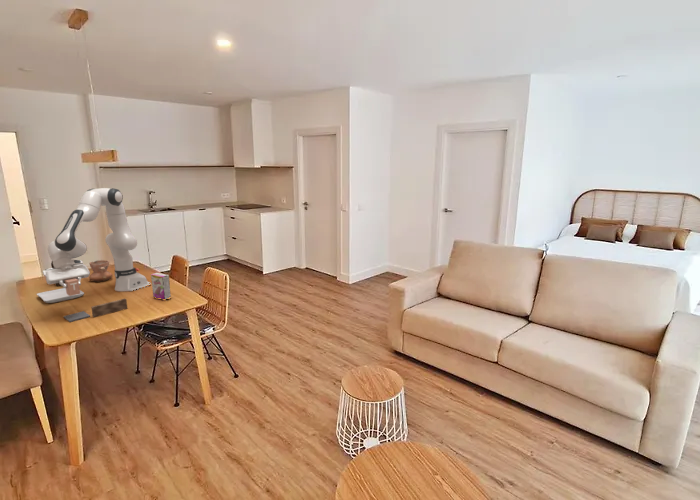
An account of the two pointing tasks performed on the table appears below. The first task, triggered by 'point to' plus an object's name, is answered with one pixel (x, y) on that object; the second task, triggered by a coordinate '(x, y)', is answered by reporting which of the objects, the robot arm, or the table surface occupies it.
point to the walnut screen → (109, 307)
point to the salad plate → (57, 295)
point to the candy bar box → (160, 285)
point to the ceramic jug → (100, 271)
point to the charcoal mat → (76, 316)
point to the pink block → (72, 287)
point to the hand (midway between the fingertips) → (72, 286)
